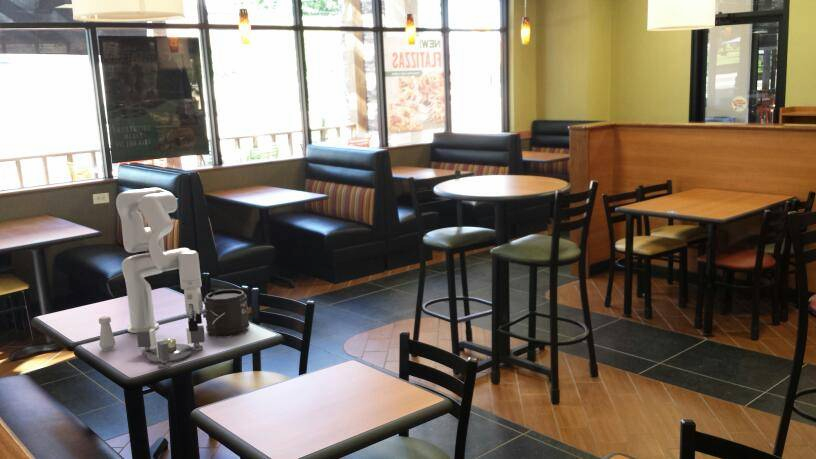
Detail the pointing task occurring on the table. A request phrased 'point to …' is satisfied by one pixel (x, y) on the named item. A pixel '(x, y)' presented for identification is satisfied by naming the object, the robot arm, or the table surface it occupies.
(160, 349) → the knob front
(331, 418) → the table surface
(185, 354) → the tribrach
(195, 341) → the knob near left
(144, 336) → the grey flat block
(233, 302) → the wooden barrel
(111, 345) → the salt shaker
